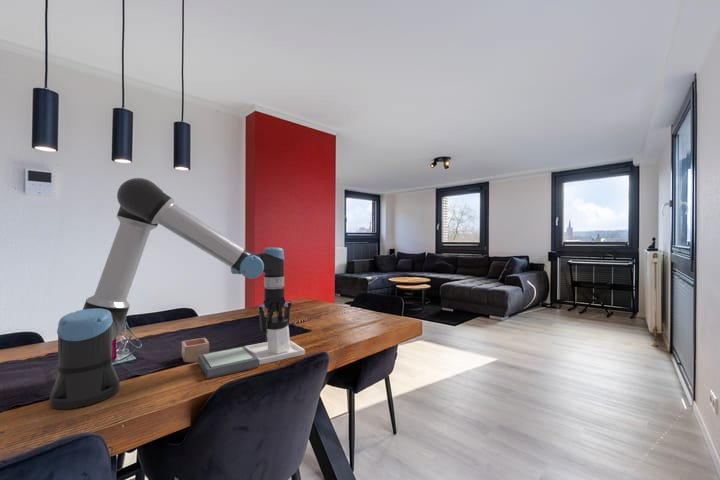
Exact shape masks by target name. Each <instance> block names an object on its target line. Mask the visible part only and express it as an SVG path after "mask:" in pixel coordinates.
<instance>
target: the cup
mask: <svg viewBox="0 0 720 480" xmlns="http://www.w3.org/2000/svg"><path fill="white" fill-rule="evenodd" d="M206 353H210V341H208V339H207V338H206V337H201V338H195V339H188V340H182V341H181V357H182V361H183V362H184V363H197V362H198V355H201V354H206Z"/></svg>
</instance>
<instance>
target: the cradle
mask: <svg viewBox="0 0 720 480" xmlns="http://www.w3.org/2000/svg"><path fill="white" fill-rule="evenodd" d="M245 346H246V345H244V346H240V347H234V348H229V349H227V350H231V349H236V348H241V347H242V348H243V349H244V350H245V351H246V352H247V353H248V354H249V355H250V356H252V357H253V359H250V360H246V361H241V362H236V363H232V364H227V365H222V366H218V367H213V368H210V367H209V365H208V364H207V362H206V361H205V359H204V358H203V355H204V354H201V355H198V365H199V367H200V370H202V372H203V373H204V375H205V378H206V379H207V380H210V379H216V378H220V377H224V376H229V375H232V374H237V373H241V372H245V371H250V370H254V369H259V364H258V358H257V357H255V356H254V355H253V354H252V353H251V352H250V351H249V350H248V349H247V348H246V347H245ZM225 350H226V349H223V350H218V351H212V352H209V353H206V354H210V353H215V352H220V351H225Z"/></svg>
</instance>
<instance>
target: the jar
mask: <svg viewBox="0 0 720 480" xmlns="http://www.w3.org/2000/svg"><path fill="white" fill-rule="evenodd" d="M282 316H283V318H282V319H279V318H278V317H277V316H272V321H270V322H268V321H265V325H266V324H267V327H268V329H266V331H268V333H267V341H266V342H267V343H268V352H269V353H275V354H280V353H283V352H286V351H289V348H290V341H291V339H290V326H289V327H288V318H287V317H284V315H282Z"/></svg>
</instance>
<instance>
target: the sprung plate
mask: <svg viewBox="0 0 720 480" xmlns="http://www.w3.org/2000/svg"><path fill="white" fill-rule="evenodd" d="M240 347H241V348H238V347H235V348H236V349H233V348H230V349H231V350H228V349H224V350H225V351H222V350H219V351H220V352H217V351H214V352H215V353H212V352H209V353H210V354H204V355H203V358H204V359H205V361H206V362H207V364H208V365H209V367H210V368H213V367H218V366H222V365H227V364H232V363H236V362H241V361H246V360H250V359H253V357H252V356H250V355H249V354H248V353H247V352H246V351H245V350H244V349H243V348H242V347H243V346H240Z"/></svg>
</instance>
